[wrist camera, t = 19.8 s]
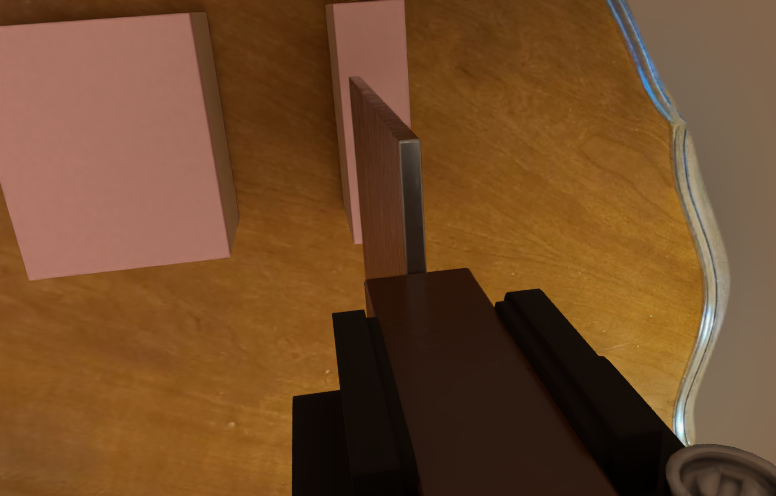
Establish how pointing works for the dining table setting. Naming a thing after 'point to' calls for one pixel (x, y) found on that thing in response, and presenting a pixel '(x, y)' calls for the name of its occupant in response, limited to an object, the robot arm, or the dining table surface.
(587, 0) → the dining table surface
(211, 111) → the sponge cake
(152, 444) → the dining table surface
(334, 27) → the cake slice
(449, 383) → the kitchen knife
